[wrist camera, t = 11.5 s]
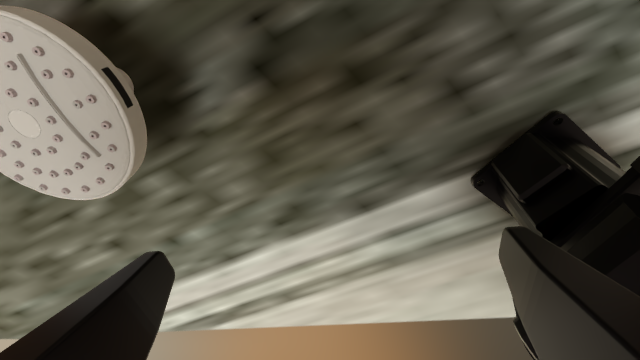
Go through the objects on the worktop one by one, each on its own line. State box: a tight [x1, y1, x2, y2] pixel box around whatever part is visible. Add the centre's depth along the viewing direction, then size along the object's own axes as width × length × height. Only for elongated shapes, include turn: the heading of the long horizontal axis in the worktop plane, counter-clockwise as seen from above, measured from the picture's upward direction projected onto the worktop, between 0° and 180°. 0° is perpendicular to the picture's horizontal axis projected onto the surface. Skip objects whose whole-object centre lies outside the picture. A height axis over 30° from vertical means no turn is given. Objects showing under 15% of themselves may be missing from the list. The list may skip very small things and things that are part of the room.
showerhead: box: [0, 5, 147, 200], centre depth 17 cm, size 9×7×10 cm
